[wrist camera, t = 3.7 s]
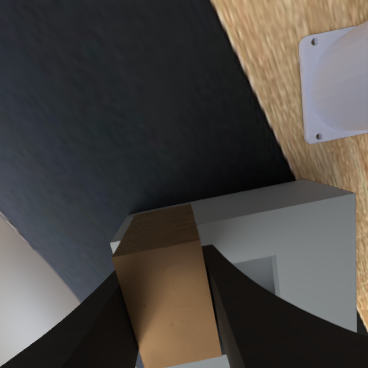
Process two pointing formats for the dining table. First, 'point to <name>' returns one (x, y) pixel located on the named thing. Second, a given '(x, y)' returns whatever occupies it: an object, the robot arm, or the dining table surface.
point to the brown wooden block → (167, 288)
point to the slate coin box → (284, 246)
